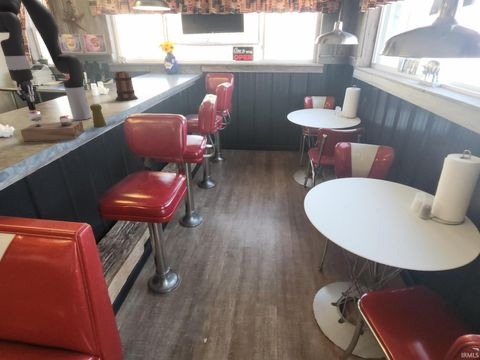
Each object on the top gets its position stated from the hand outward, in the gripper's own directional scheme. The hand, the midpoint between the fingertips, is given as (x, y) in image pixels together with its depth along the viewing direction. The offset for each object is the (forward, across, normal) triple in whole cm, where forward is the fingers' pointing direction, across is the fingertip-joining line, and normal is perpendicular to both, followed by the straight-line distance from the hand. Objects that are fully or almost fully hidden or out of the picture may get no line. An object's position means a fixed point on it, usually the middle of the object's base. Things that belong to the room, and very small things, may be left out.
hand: (32, 110), depth 124 cm
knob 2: (+10, 0, +12) cm, 16 cm away
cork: (+12, -16, +21) cm, 29 cm away
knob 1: (+7, 0, 0) cm, 7 cm away
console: (+12, 0, +6) cm, 14 cm away
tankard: (+12, -101, +19) cm, 104 cm away
